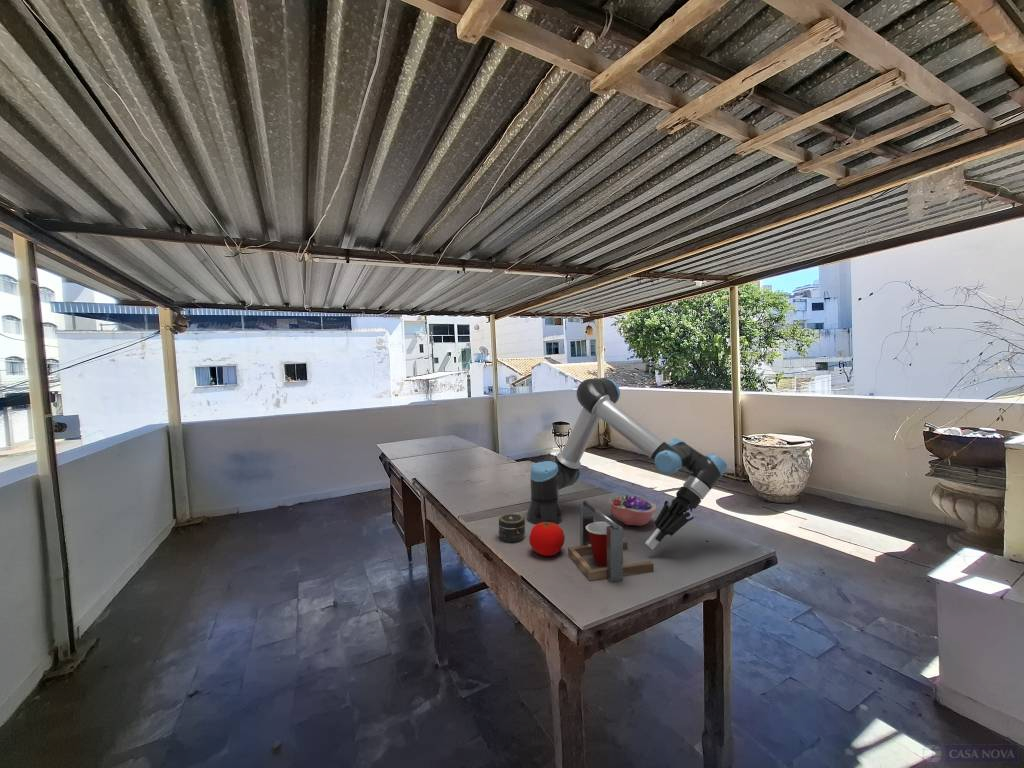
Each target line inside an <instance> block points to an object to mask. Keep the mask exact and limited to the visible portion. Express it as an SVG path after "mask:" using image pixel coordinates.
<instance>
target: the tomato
mask: <svg viewBox="0 0 1024 768" xmlns="http://www.w3.org/2000/svg"><path fill="white" fill-rule="evenodd" d="M565 539H566V537H565V534H564V530H563V528H562V527H561V526H560V525H558V523H557V524H555V523H553V522H552V523H551V522H542V523H538V524H534V526H533V527H532V529H531V531H530V534H529V540H528V541H529V545H530V547H531V548H532V550H533V551H534V552H535V553H537V554H538V555H541V556H546V557H550V556H555V555H556V554H558V553H559V552H560V550H562V548H563V545H564V543H565Z"/></svg>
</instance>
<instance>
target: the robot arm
mask: <svg viewBox="0 0 1024 768" xmlns="http://www.w3.org/2000/svg"><path fill="white" fill-rule="evenodd" d="M620 395H621V390H620V387H619V385H618V383H617V382H616V381H614V380H613V379H611V378H606V377H600V378H599V377H598V378H587V379H585V380H582V381H581V383H579V385H578V386H577V388H576V398H577V399H576V400H577V401H578V403H579V404H580V406H581V407H582V408H581V411H580V413H579V415H578V417H577V420H576V422H575V424H574V426H573V427H572V430H571V432H570V434H569V435H568V436H569V437H567V438H568V439H567V441H566V443H565V445H564V448H563V450H562V451H561V452H558V453H557V454H556V456H555V458H554V460H553V461H550V460H543V461H539V462H536V463H533V465H532V466H531V468H530V475H529V476H530V502H529V506H528V509H527V512H526V519H527V521H528V522H529V523H532V524H534V525H536V524H538V523H542V522H551V523H552V522H553V523H555V524H557V525H558V524H559V523H561V522H562V521H563V519H564V518H563V515H564V514H563V512H562V508H561V505H560V503H559V490H562V489H565V488H567V487H570V486H572V485H574V484H575V483H577V482H578V480H579V479H580V476H581V466H582V463H581V459H582V458H583V457H582V456H584V453H585V451H586V449H587V447H588V445H589V443H590V440H591V438H592V437H593V435H594V433H595V431H596V429H597V426H598V424H599V423H600V420H602V421H604V422H605V423H606V424H607V425H608V426H610V427H611V428H612V429H613V430H615V431H616V432H617V433H619V434H620V435H621V437H623V438H624V439H626V440H627V441H628V442H630V443H631V444H632V445H634V446H635V447H636V448H637V449H638V450H640V451H641V452H642V453H643V454H645V455H646V456H647V457H648V458H650V459H651V460H652V461H653V462H654V466H655V468H656V469H657V470H658V472H660V473H662V474H666V475H669V474H670V475H671V474H674V473H677V472H678V471H680V470H681V469H682V468H683V469H686V470H687V471H688V472H690V473H691V474H690V476H689V477H688V478H687V479H686V480H685V481H684V483H683V484H682V485H683V486H680V487H679V489H678V490H677V491H676V493H675V495H676V497H675V498H674V499H672V501H668V500H665V501H664V503H663V506H662V508H661V510H660V512H659V514H658V515H657V517H656V519H655V521H654V522H653V524H654V525H655V527H656V528H655V529H654V530H653V531H652V532H651V534H650V536H649V538H647V539H646V541H645V544H646V546H647V547H648V548H650V549H651V550H654V549H656V547H657V545H658V544H659V543H660V542H661V541H663V539H664V538H665V536H668V535H669V536H670V537H672V536H673V535H675V534H676V533H677V532H678V531H679V530H680V529H681V528H683V527H684V526H685V525H686V524H687V523H688V522H690V521H692V520H694V515H692V512H693V509H694V510H695V509H696V508H698V507H699V505H700V504H701V503H702V500H704V499H705V497H706V496H707V495H708V494H709V492H710V491H711V490H712V489H713V488H714V486H715V485H716V484H717V482H718V481H719V480H720V479H721V478H722V477H723V475H724V473H725V472H726V471H727V469H728V464H727V463H726V461H725V460H724V458H721V457H720V456H718V455H716V454H714V453H711V452H710V453H708V454H707V455H704V454H703V453H701V452H700V451H698V450H697V449H695V448H694V447H692V446H691V445H689V444H687V443H686V442H685V441H683V440H681V439H679V438H677V437H674V438H672V439H671V440H670V441H669V443H667V442H665V440H663V439H662V438H661V437H659V436H658V435H656V434H655V433H654V432H653V431H652V430H650V429H649V428H648V427H646V426H644V424H642V423H641V422H639V421H638V420H637V419H636V418H634V417H633V416H632V415H630V414H629V413H628V412H626V411H625V410H623V408H621V407H620V406H619V405H617V402H618V401H619V400H620Z"/></svg>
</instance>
